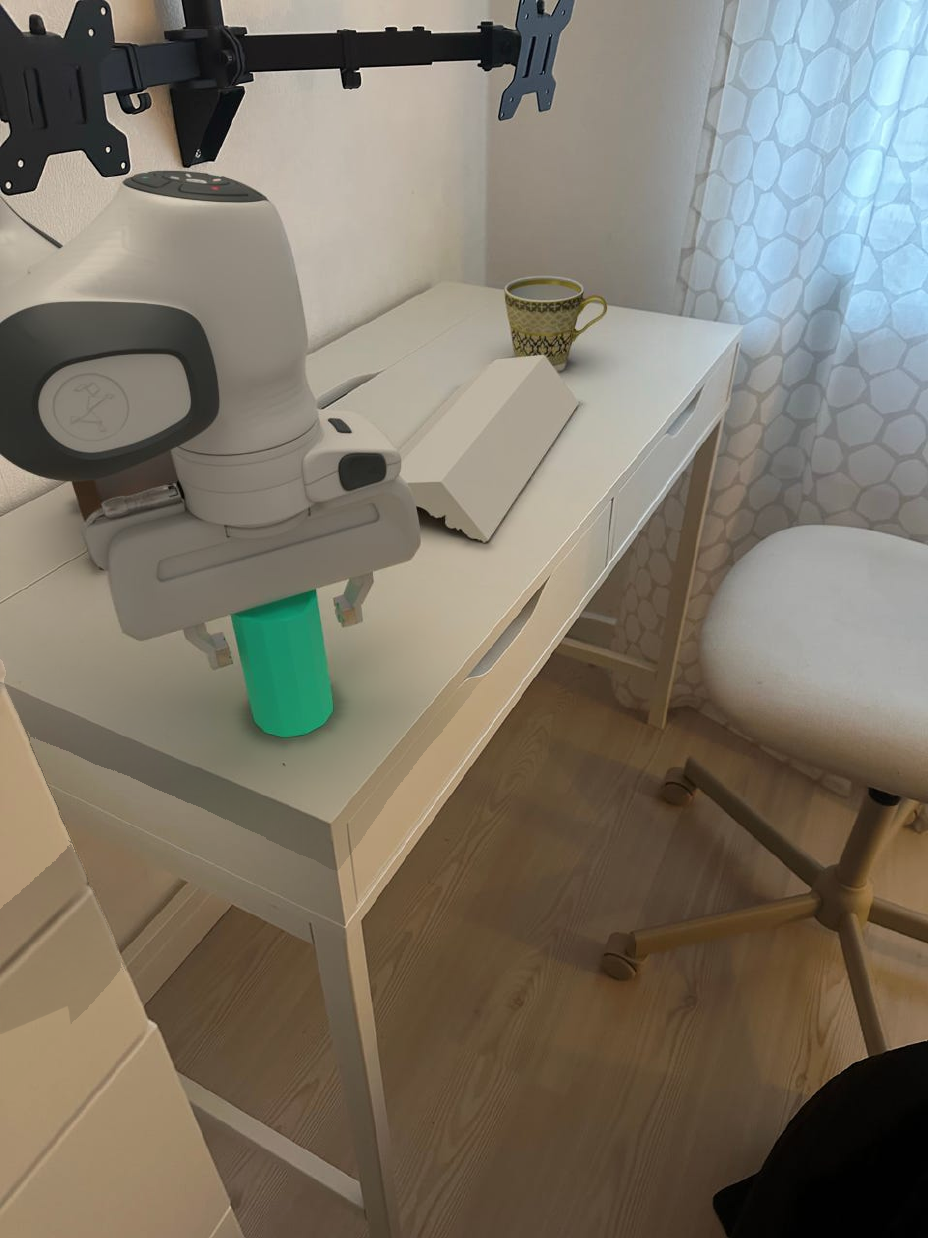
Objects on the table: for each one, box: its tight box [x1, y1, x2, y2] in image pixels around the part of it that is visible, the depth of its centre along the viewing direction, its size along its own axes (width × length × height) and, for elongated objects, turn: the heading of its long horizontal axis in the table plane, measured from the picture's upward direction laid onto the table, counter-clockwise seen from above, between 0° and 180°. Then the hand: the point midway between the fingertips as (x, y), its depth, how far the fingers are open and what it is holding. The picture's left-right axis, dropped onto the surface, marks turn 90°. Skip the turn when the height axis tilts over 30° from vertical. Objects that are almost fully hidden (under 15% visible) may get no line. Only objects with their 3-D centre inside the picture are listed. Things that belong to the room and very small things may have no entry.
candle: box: [229, 589, 334, 738], centre depth 63 cm, size 6×6×12 cm
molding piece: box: [398, 355, 580, 544], centre depth 98 cm, size 32×12×10 cm
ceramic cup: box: [503, 275, 608, 373], centre depth 114 cm, size 13×10×10 cm
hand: (286, 641), depth 63 cm, fingers open, 8 cm apart
